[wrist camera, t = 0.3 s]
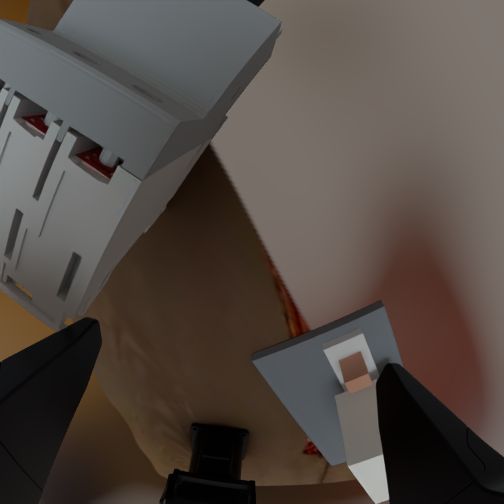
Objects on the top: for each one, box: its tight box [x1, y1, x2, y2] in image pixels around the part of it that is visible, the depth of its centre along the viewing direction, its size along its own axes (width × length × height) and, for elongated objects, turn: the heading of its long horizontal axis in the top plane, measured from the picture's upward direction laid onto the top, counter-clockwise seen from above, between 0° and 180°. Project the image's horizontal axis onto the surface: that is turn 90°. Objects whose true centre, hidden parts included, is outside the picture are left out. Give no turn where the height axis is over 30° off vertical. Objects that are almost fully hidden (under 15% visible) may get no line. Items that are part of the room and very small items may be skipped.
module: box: [335, 379, 389, 504], centre depth 24 cm, size 6×12×8 cm, turn 28°
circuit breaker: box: [0, 0, 282, 332], centre depth 13 cm, size 8×14×15 cm, turn 144°
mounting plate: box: [252, 300, 403, 466], centre depth 28 cm, size 12×22×5 cm, turn 28°
